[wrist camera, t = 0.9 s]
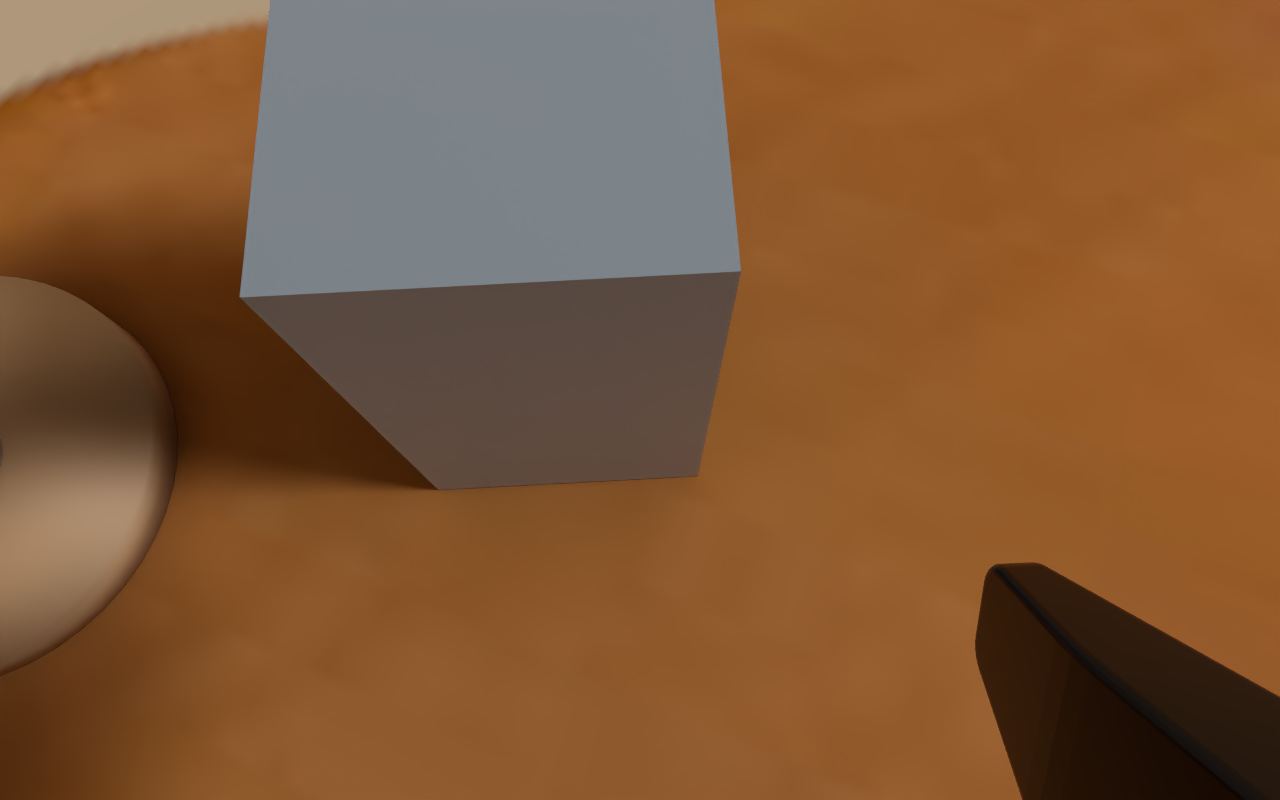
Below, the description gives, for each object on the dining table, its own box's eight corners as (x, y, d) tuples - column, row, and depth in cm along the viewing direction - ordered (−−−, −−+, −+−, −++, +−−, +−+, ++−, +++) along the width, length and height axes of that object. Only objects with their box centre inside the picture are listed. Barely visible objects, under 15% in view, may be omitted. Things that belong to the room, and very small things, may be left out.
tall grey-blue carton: (697, 476, 22) (740, 271, 11) (438, 489, 22) (239, 297, 11) (680, 245, 24) (703, -110, 13) (443, 257, 24) (279, -89, 13)
